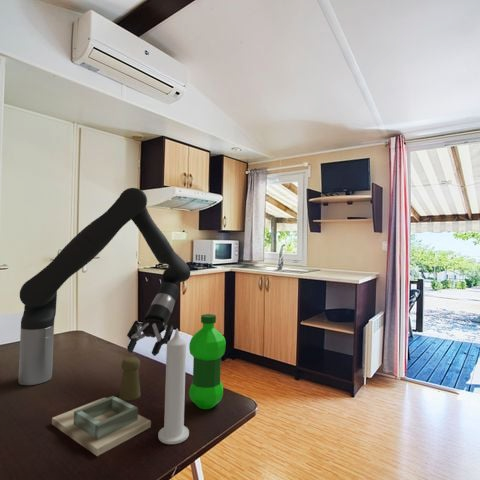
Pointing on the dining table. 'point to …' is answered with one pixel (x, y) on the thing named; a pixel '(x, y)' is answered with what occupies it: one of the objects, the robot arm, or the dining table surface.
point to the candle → (174, 393)
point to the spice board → (102, 424)
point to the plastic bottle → (207, 364)
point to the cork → (130, 379)
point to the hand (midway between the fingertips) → (141, 353)
